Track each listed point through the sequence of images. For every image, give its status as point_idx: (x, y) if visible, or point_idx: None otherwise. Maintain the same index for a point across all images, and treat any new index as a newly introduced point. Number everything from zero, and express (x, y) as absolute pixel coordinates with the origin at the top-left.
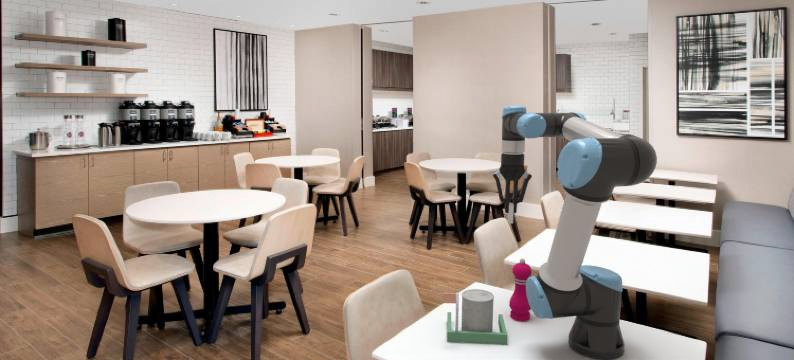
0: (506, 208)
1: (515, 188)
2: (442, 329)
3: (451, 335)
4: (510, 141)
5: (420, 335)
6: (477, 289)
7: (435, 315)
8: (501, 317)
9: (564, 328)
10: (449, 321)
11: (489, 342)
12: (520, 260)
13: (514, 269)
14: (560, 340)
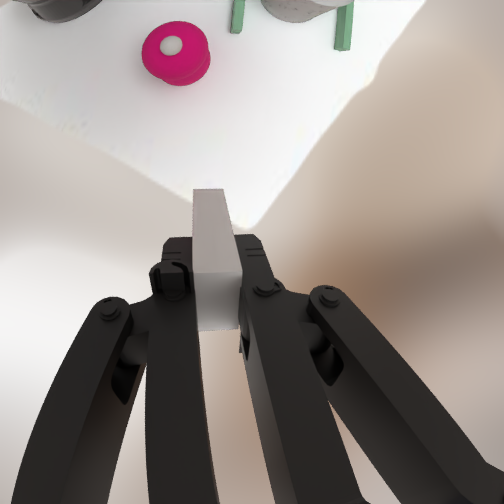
0: (255, 257)
1: (185, 466)
2: None
3: None
4: None
5: (385, 12)
6: (320, 3)
7: (358, 76)
8: (238, 14)
9: (103, 31)
10: (349, 11)
11: None
12: (179, 40)
13: (204, 36)
14: None
